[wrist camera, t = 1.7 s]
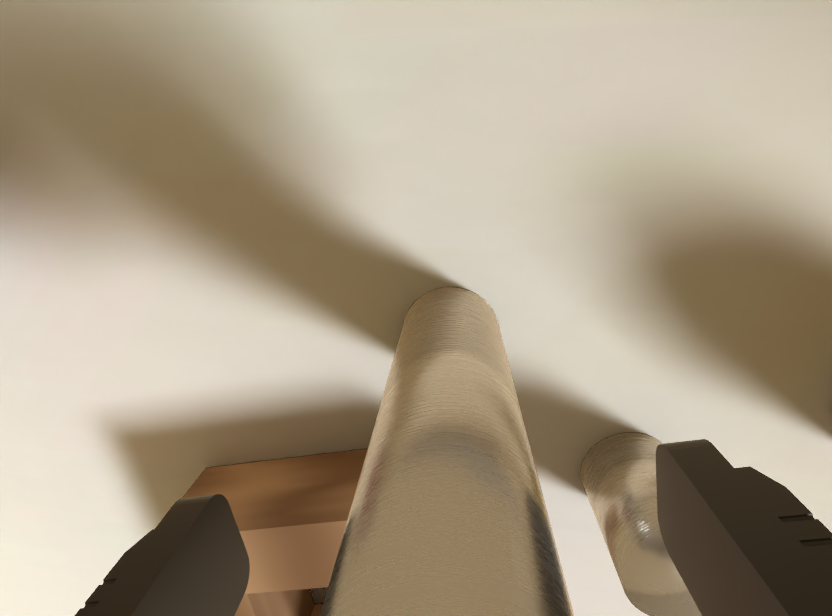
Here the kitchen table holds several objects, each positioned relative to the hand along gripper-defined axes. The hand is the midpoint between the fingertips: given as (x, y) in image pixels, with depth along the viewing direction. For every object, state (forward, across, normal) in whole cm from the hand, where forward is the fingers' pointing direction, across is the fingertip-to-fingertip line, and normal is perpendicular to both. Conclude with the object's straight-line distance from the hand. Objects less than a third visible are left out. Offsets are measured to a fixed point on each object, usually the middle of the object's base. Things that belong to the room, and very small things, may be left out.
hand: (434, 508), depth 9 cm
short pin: (+9, -6, +7) cm, 13 cm away
